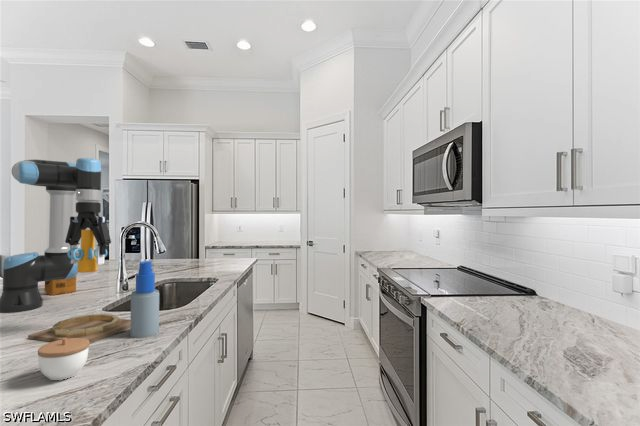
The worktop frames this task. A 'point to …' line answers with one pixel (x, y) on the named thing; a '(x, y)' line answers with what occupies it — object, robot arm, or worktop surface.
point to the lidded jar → (63, 357)
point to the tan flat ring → (88, 331)
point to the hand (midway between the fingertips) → (87, 263)
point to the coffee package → (60, 286)
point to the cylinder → (86, 253)
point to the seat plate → (49, 335)
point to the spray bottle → (145, 304)
